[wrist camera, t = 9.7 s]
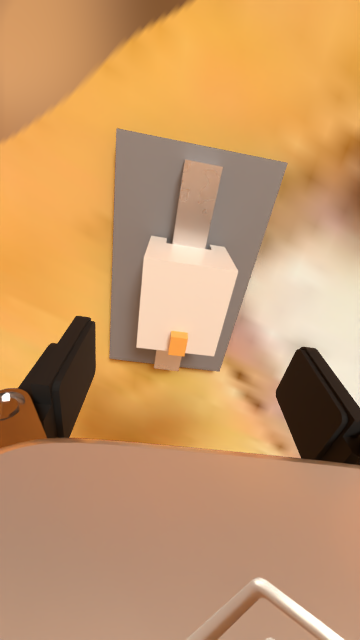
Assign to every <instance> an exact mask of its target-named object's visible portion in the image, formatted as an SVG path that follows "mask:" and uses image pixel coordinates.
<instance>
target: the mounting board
mask: <svg viewBox="0 0 360 640" xmlns="http://www.w3.org/2000/svg"><path fill="white" fill-rule="evenodd" d="M184 160H190V161H196V162H201V163H206V164H211V165H216V166H221V167H223V169H222V173H221V178H220V183H219V187H218V192H217V196H216V201H215V206H214V210H213V215H212V219H211V224H210V229H209V233H208V238H207V242H206V247H205V249H208V250H209V245H216V246H222V247H225V248H226V250H227V252H228V254H229V256H230V257H231V259H232V261H233V263H234V264H235V266H236V268H237V270H238V275H237V278H236V282H235V285H234V289H233V292H232V295H231V299H230V302H229V306H228V309H227V313H226V316H225V320H224V323H223V327H222V330H221V334H220V337H219V341H218V344H217V348H216V351H215V355H214V356H206V355H198V354H189V353H185V356H182V358H181V362H180V367H185V368H194V369H202V370H211V371H220V368H221V365H222V362H223V359H224V356H225V353H226V350H227V347H228V344H229V341H230V337H231V334H232V331H233V328H234V325H235V322H236V319H237V316H238V313H239V310H240V307H241V304H242V301H243V298H244V295H245V292H246V289H247V286H248V282H249V279H250V276H251V273H252V270H253V267H254V264H255V261H256V258H257V255H258V252H259V249H260V246H261V243H262V240H263V237H264V234H265V231H266V227H267V224H268V221H269V218H270V215H271V212H272V209H273V206H274V203H275V200H276V197H277V194H278V191H279V188H280V185H281V182H282V179H283V176H284V173H285V169H286V166H287V163H286V162H281V161H276V160H271V159H266V158H261V157H256V156H251V155H246V154H241V153H236V152H231V151H226V150H221V149H216V148H211V147H206V146H201V145H196V144H192V143H187V142H182V141H177V140H172V139H167V138H162V137H157V136H152V135H147V134H142V133H137V132H132V131H127V130H122V129H117V133H116V166H115V198H114V231H113V263H112V296H111V328H110V359H118V360H126V361H134V362H143V363H151V364H154V363H155V354H156V350H154V349H145V348H136V345H137V333H138V321H139V309H140V297H141V285H142V273H143V261H144V255H145V253H146V250H147V247H148V244H149V241H150V238H151V236H157V237H163V238H167V241H166V243H169V244H172V240H173V233H174V227H175V220H176V213H177V206H178V200H179V193H180V186H181V179H182V173H183V166H184Z"/></svg>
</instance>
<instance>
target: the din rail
mask: <svg viewBox="0 0 360 640" xmlns="http://www.w3.org/2000/svg"><path fill="white" fill-rule="evenodd" d="M222 169H223V167H221V166H216V165H211V164H206V163H201V162H196V161H190V160H184V166H183V173H182V179H181V186H180V193H179V200H178V206H177V213H176V220H175V227H174V233H173V240H172V244H176V245H182V246H189V247H195V248H202V249H205V247H206V242H207V238H208V233H209V229H210V224H211V219H212V215H213V210H214V206H215V201H216V196H217V192H218V187H219V183H220V178H221V173H222ZM181 358H182V356H175V355H168V351H163V350H156V354H155V363H154V368H156V369H164V370H173V371H179V367H180V362H181Z"/></svg>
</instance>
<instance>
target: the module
mask: <svg viewBox="0 0 360 640" xmlns="http://www.w3.org/2000/svg"><path fill="white" fill-rule="evenodd" d="M166 241H167V238H163V237H157V236H151V238H150V241H149V244H148V247H147V250H146V253H145V255H144V261H143V273H142V285H141V297H140V309H139V321H138V333H137V345H136V348H145V349H154V350H163V351H168V355H175V356H185V353H189V354H198V355H206V356H214V355H215V351H216V348H217V344H218V341H219V337H220V334H221V330H222V327H223V323H224V320H225V316H226V313H227V309H228V306H229V302H230V299H231V295H232V292H233V289H234V285H235V282H236V278H237V275H238V270H237V268H236V266H235V264H234V263H233V261H232V259H231V257H230V256H229V254H228V252H227V250H226V248H225V247H222V246H216V245H209V250H208V249H202V248H195V247H189V246H182V245H176V244H169V243H166Z"/></svg>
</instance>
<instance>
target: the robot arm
mask: <svg viewBox="0 0 360 640" xmlns="http://www.w3.org/2000/svg"><path fill="white" fill-rule="evenodd" d="M95 368H96V361H95V322H94V321H91V318H89V317H82V316H76V317H75V318H74V320H73V321H72V323H71V324H70V326H69V327H68V329H67V330H66V332H65V333H64V335H63V336H62V338H61V339H60V341H59V342H58V344H55V343H51V344H50V345H49V346H48V347H47V348H46V350H45V351H44V353H43V354H42V355H41V357H40V358H39V360H38V361H37V362H36V364H35V365H34V367H33V368H32V369H31V371H30V372H29V374H28V375H27V376H26V378H25V379H24V380H23V382H22V383H21V385H20V386H19V387H18V389H17V388H8V389H4V390H0V640H360V408H359V406H358V405H357V403H356V402H355V401H354V399H353V398H352V397H351V395H350V394H349V393H348V391H347V390H346V389H345V387H344V386H343V384H342V383H341V382H340V380H339V379H338V378H337V376H336V375H335V374H334V372H333V371H332V369H331V368H330V367H329V365H328V364H327V363H326V361H325V360H324V359H323V357H322V356H321V354H320V353H319V352H318V350H317V349H315V348H309V347H301V348H300V349H298V350H296V352H295V354H294V356H293V358H292V360H291V362H290V364H289V366H288V368H287V370H286V372H285V374H284V376H283V378H282V380H281V382H280V384H279V386H278V388H277V390H276V398H277V400H278V403H279V405H280V408H281V410H282V412H283V415H284V417H285V420H286V422H287V425H288V427H289V429H290V432H291V434H292V437H293V439H294V442H295V444H296V446H297V449H298V451H299V454H300V456H301V458H292V457H282V456H273V455H263V454H253V453H243V452H233V451H222V450H212V449H202V448H192V447H181V446H170V445H159V444H148V443H137V442H126V441H113V440H100V439H87V438H69V437H70V434H71V432H72V429H73V427H74V424H75V422H76V420H77V417H78V415H79V412H80V410H81V407H82V405H83V402H84V400H85V397H86V395H87V392H88V390H89V387H90V385H91V382H92V380H93V377H94V374H95Z"/></svg>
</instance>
